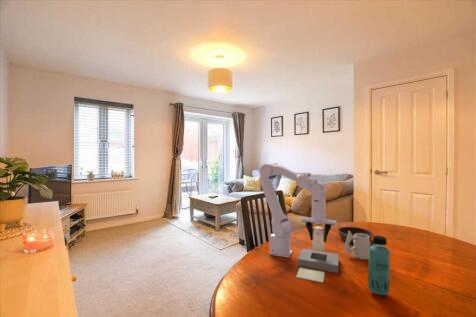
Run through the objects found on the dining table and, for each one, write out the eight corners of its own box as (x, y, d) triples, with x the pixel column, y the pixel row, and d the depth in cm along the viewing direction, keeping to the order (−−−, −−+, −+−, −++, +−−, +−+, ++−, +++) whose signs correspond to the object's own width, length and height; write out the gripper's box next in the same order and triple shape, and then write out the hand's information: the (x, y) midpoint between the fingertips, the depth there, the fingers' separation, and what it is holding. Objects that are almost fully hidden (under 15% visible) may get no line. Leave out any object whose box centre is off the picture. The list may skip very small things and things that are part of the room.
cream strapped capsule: (313, 245, 109) (313, 225, 109) (324, 247, 107) (324, 227, 107) (311, 251, 102) (311, 230, 102) (324, 253, 100) (324, 232, 100)
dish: (352, 232, 147) (352, 223, 147) (384, 245, 126) (384, 235, 126) (328, 235, 141) (328, 227, 141) (358, 249, 120) (358, 240, 120)
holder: (297, 265, 104) (297, 259, 103) (302, 254, 115) (302, 248, 114) (338, 273, 97) (338, 265, 97) (338, 260, 108) (338, 254, 108)
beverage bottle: (363, 289, 86) (364, 233, 85) (381, 288, 86) (382, 233, 86) (375, 300, 79) (376, 240, 79) (394, 299, 80) (395, 239, 79)
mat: (296, 277, 94) (296, 276, 94) (299, 268, 101) (299, 267, 101) (323, 283, 90) (323, 281, 90) (324, 273, 97) (324, 272, 97)
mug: (374, 259, 109) (375, 233, 109) (349, 260, 108) (349, 234, 108) (364, 252, 117) (365, 228, 116) (341, 253, 116) (341, 228, 116)
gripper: (300, 210, 104) (300, 241, 104) (336, 213, 98) (336, 246, 98) (302, 206, 110) (302, 236, 111) (336, 209, 105) (336, 240, 105)
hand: (318, 240), depth 105 cm, fingers closed on cream strapped capsule, 5 cm apart
